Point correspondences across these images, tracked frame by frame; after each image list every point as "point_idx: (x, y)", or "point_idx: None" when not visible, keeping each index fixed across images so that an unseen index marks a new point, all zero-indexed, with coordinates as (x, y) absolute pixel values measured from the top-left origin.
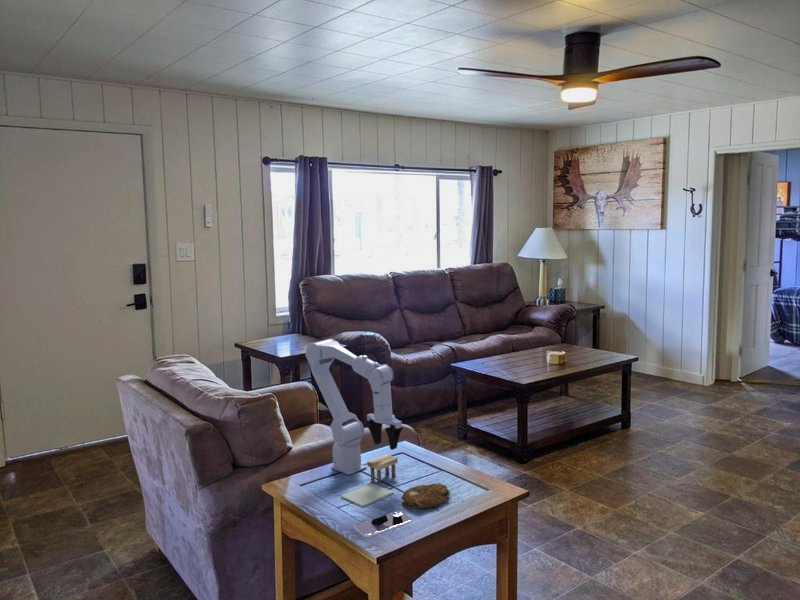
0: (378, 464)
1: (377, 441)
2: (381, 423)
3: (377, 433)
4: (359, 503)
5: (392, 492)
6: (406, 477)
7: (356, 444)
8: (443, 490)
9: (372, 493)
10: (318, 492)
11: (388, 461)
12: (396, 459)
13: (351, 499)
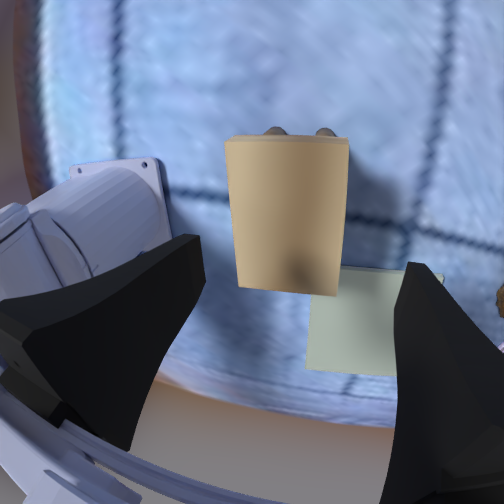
0: (324, 289)
1: (194, 283)
2: (66, 343)
3: (150, 321)
4: (388, 374)
5: (442, 280)
6: (389, 112)
7: (87, 271)
8: None
9: (382, 322)
10: (228, 366)
11: (342, 227)
12: (348, 153)
13: (350, 370)
